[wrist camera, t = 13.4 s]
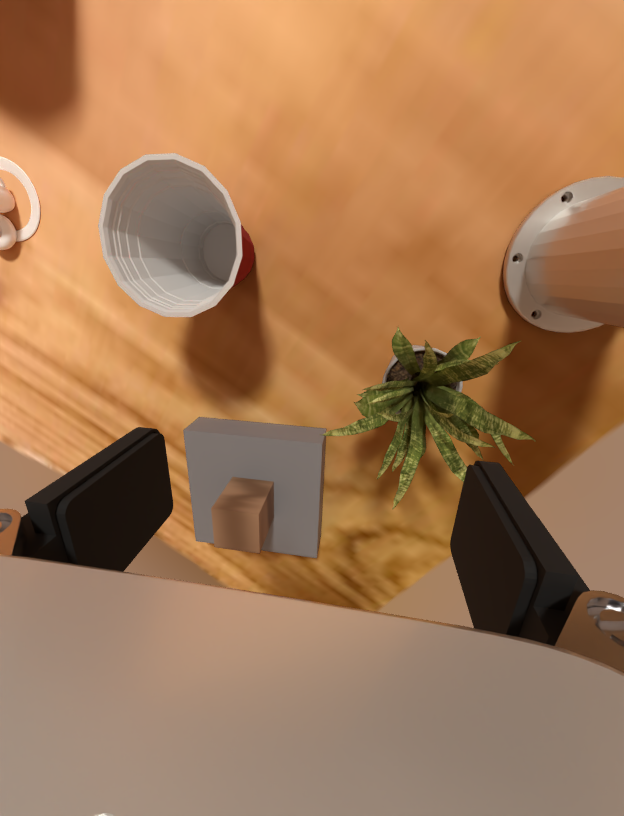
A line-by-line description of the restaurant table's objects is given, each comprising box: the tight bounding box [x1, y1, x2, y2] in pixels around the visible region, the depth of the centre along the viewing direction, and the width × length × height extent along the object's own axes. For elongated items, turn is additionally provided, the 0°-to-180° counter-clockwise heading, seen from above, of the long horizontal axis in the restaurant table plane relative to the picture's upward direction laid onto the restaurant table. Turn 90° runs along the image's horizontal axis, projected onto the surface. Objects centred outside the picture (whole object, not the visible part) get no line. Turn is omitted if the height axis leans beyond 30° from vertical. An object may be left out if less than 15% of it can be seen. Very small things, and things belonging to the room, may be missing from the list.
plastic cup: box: [98, 153, 254, 317], centre depth 30 cm, size 11×11×12 cm
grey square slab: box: [183, 417, 326, 558], centre depth 43 cm, size 16×16×4 cm
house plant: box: [322, 327, 535, 509], centre depth 30 cm, size 14×14×16 cm
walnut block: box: [211, 477, 274, 554], centre depth 38 cm, size 5×5×6 cm
